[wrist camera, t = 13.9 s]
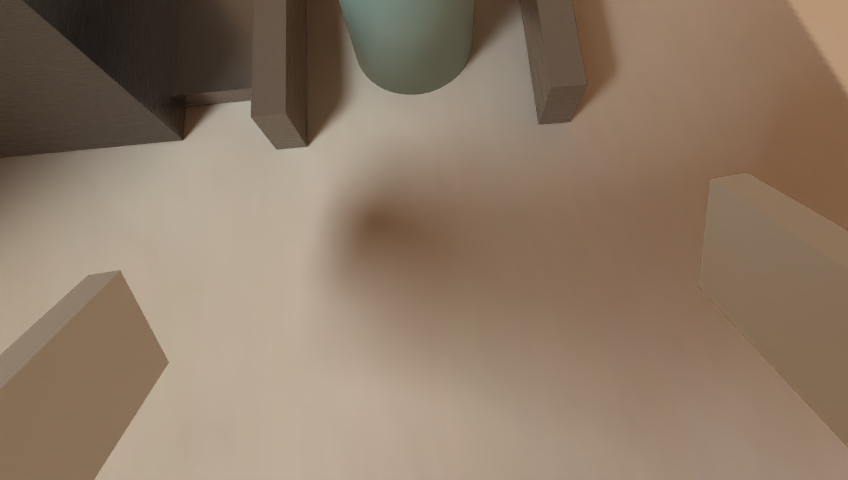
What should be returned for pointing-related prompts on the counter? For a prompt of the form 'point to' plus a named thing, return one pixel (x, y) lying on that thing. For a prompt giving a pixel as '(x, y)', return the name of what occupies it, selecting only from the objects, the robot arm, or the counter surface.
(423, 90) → the white-capped teal cylinder
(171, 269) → the counter surface
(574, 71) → the grey flatbed stand
